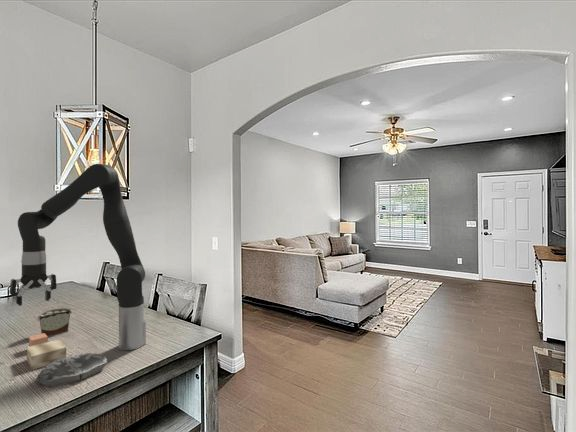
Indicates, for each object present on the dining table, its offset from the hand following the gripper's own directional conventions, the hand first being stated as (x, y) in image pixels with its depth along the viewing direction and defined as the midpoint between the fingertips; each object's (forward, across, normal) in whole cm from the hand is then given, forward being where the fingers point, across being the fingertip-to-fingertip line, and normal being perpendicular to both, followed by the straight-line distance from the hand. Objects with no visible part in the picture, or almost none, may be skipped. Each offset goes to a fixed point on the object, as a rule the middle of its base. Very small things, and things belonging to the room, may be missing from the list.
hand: (34, 302), depth 124 cm
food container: (+19, +10, +12) cm, 25 cm away
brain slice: (+19, +3, -32) cm, 37 cm away
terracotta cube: (+19, +1, -1) cm, 19 cm away
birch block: (+19, 0, -14) cm, 24 cm away
